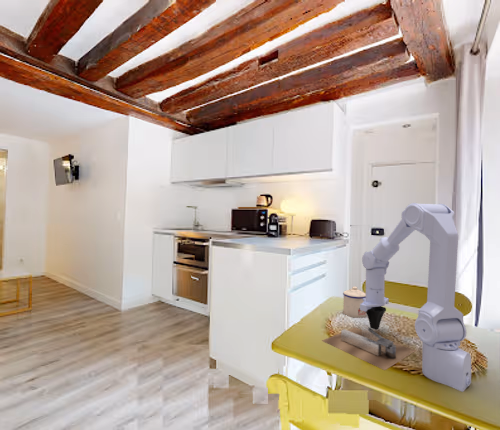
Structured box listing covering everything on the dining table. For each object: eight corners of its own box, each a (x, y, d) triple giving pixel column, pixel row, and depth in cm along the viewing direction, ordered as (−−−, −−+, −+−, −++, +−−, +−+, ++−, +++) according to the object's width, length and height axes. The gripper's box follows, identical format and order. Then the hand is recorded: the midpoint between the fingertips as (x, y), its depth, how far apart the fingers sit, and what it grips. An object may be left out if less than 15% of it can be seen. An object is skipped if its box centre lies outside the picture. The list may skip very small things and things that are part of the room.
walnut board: (415, 353, 79) (416, 350, 79) (384, 374, 68) (384, 370, 68) (354, 330, 95) (354, 327, 95) (321, 343, 85) (321, 340, 85)
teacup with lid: (362, 321, 104) (362, 291, 104) (339, 315, 110) (339, 287, 110) (371, 313, 113) (371, 285, 113) (349, 308, 119) (350, 281, 119)
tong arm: (397, 358, 74) (397, 347, 74) (389, 358, 74) (389, 347, 74) (367, 334, 89) (367, 325, 89) (360, 334, 89) (360, 325, 89)
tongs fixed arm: (393, 356, 75) (393, 341, 75) (387, 359, 73) (387, 344, 73) (347, 337, 87) (347, 324, 87) (341, 339, 85) (341, 326, 85)
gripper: (375, 282, 98) (374, 320, 97) (351, 288, 89) (351, 329, 89) (394, 286, 92) (394, 326, 92) (372, 293, 83) (371, 337, 83)
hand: (374, 328), depth 90 cm, fingers closed
